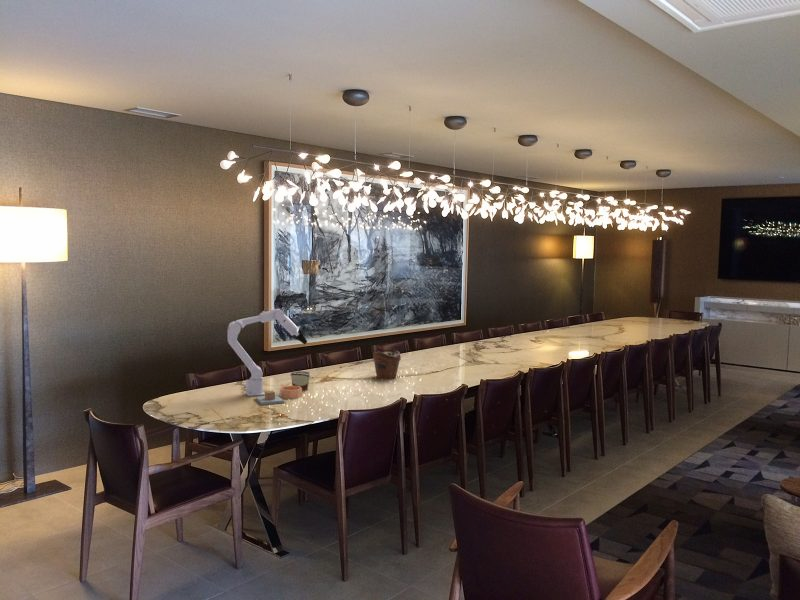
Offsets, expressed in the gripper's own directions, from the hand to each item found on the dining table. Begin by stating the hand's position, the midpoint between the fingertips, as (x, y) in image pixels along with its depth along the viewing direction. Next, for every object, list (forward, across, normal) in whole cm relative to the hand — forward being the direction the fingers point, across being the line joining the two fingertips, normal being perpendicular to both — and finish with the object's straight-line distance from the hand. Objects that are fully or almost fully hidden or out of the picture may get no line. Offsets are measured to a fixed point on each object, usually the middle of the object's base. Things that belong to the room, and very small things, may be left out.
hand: (305, 342), depth 373 cm
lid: (+6, -19, +36) cm, 41 cm away
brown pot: (+61, +30, -21) cm, 72 cm away
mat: (+6, -19, +36) cm, 41 cm away
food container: (+21, +8, +21) cm, 31 cm away
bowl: (+15, -9, +27) cm, 32 cm away
